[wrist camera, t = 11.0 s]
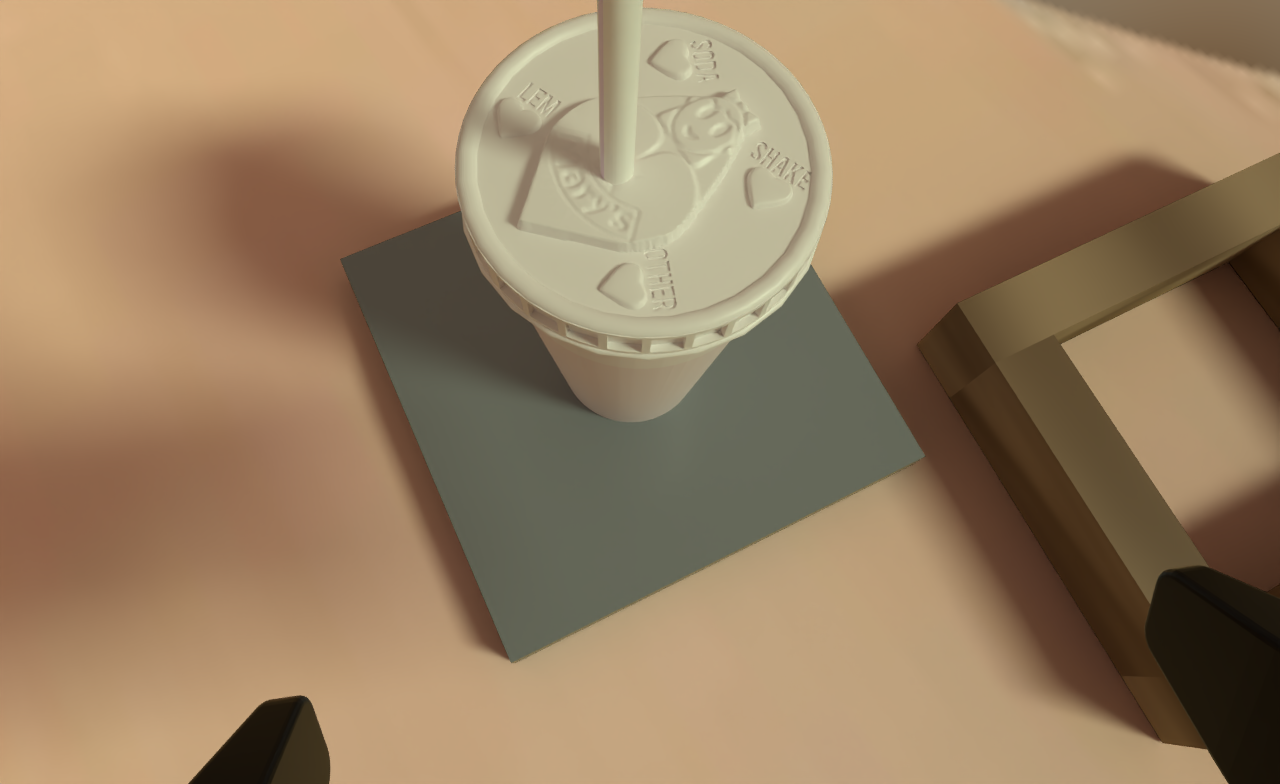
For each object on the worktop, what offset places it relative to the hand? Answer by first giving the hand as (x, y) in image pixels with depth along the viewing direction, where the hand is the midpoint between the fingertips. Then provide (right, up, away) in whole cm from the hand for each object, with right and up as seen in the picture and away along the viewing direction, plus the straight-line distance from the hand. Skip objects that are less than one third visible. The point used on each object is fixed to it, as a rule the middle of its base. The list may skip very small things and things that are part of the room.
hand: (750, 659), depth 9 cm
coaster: (-2, +3, +15) cm, 16 cm away
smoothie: (-1, +4, +15) cm, 15 cm away
